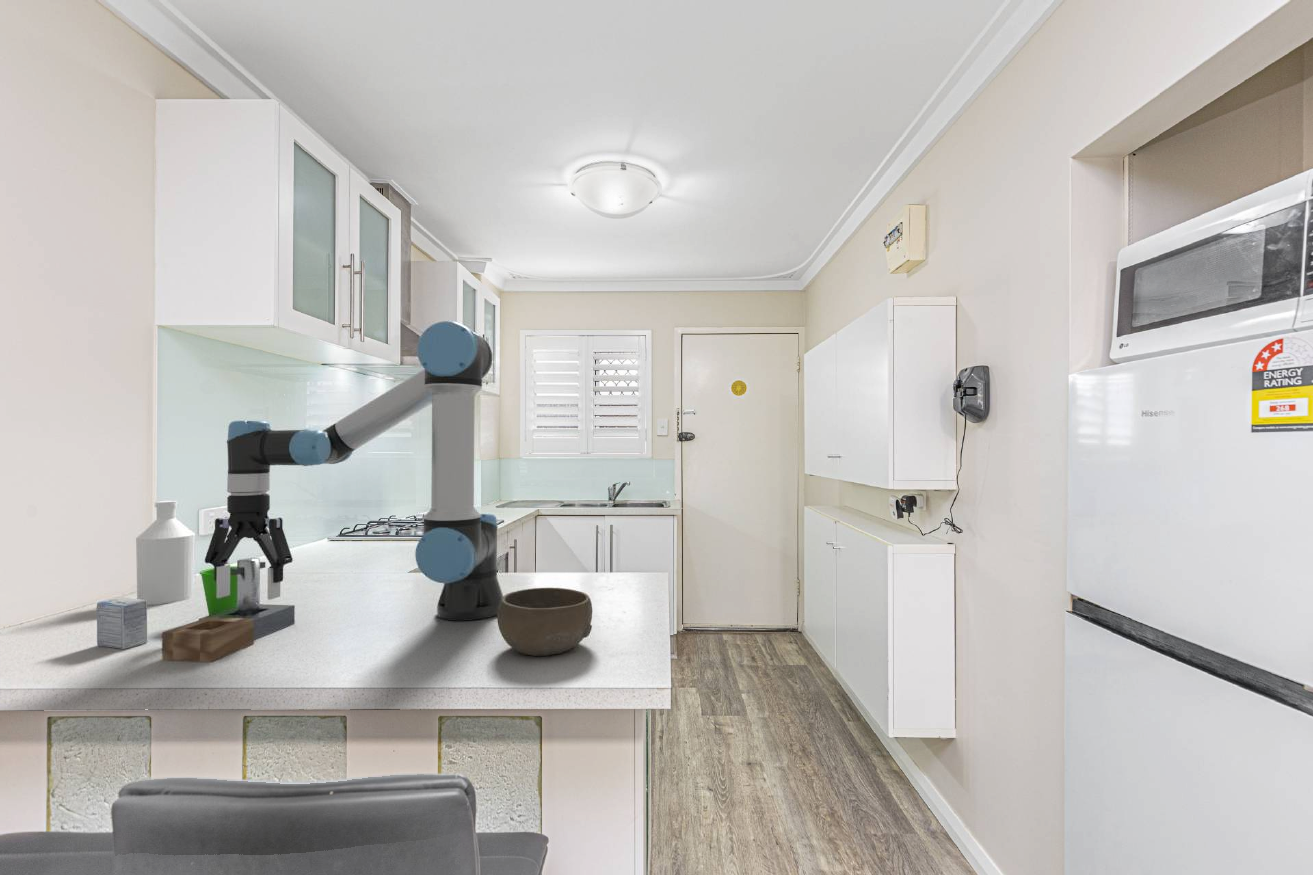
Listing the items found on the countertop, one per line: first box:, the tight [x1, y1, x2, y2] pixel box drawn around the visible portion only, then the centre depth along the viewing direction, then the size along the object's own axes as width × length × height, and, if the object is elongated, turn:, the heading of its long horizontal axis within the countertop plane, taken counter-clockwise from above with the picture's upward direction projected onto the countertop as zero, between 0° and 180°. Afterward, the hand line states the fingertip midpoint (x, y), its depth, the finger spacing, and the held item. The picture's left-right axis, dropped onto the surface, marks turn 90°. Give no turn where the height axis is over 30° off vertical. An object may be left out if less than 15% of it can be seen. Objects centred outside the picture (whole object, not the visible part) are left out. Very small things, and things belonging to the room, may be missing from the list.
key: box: [231, 557, 266, 616], centre depth 131 cm, size 4×8×15 cm, turn 173°
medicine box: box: [96, 596, 148, 650], centre depth 122 cm, size 8×4×9 cm, turn 71°
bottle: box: [135, 500, 196, 606], centre depth 159 cm, size 12×12×25 cm
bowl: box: [496, 587, 593, 657], centre depth 119 cm, size 17×18×10 cm
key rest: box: [161, 617, 255, 663], centre depth 118 cm, size 10×10×5 cm
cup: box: [198, 565, 237, 616], centre depth 141 cm, size 9×9×11 cm
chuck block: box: [198, 603, 296, 641], centre depth 131 cm, size 12×12×4 cm
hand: (248, 597), depth 131 cm, fingers open, 11 cm apart
